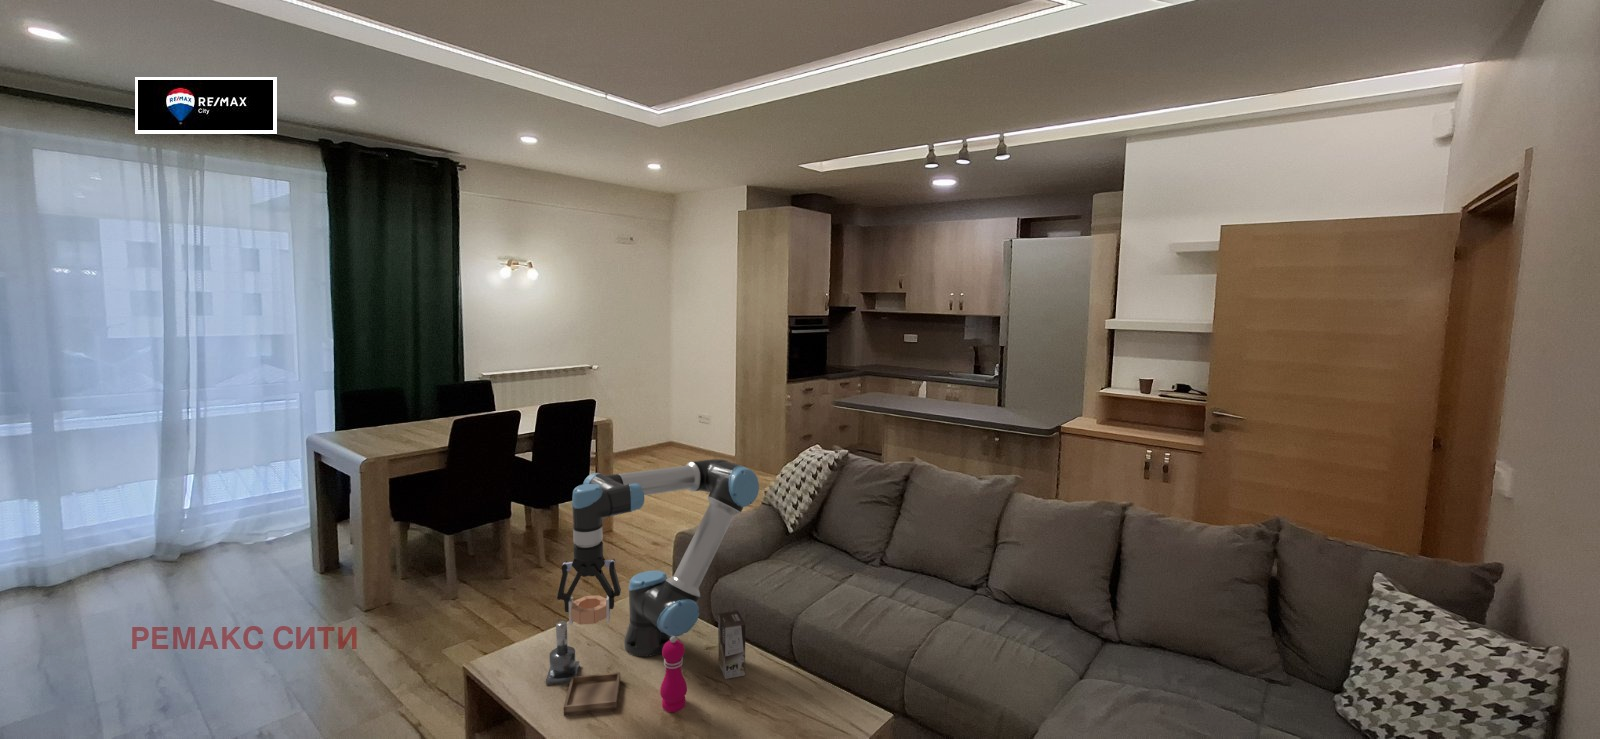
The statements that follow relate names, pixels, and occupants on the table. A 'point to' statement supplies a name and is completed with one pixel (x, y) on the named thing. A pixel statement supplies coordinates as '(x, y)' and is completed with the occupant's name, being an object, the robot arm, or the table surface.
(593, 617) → the ring
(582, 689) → the tray
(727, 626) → the coffee box
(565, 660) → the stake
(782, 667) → the table surface
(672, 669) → the pepper mill
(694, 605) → the robot arm
